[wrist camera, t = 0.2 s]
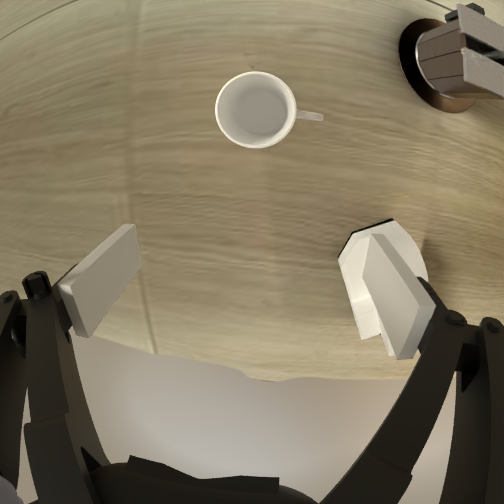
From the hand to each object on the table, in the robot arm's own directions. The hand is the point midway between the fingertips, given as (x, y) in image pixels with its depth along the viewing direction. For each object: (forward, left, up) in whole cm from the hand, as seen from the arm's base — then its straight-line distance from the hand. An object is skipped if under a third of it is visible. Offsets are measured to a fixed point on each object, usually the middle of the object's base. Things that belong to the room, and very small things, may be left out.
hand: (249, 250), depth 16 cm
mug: (-8, +1, -28) cm, 29 cm away
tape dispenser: (+16, +19, -28) cm, 37 cm away
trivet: (-20, +27, -27) cm, 43 cm away
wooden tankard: (-20, +27, -27) cm, 43 cm away
